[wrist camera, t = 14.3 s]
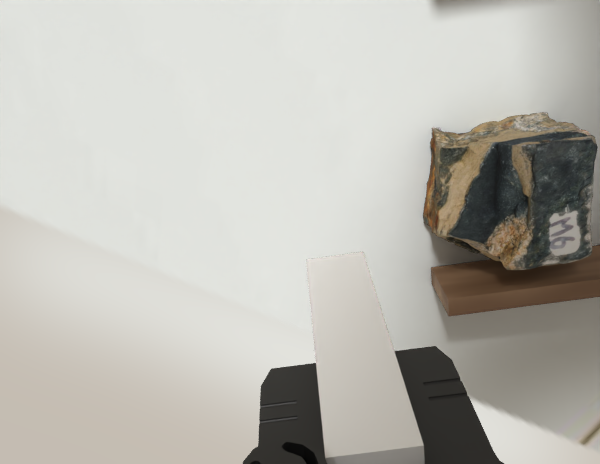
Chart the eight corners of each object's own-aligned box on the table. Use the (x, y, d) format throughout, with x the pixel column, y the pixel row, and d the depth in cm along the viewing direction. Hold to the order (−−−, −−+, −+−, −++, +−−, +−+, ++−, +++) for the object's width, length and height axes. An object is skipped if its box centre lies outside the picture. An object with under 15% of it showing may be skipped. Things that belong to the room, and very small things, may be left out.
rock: (417, 126, 33) (443, 153, 28) (577, 104, 32) (634, 127, 27) (423, 256, 36) (447, 302, 31) (567, 238, 36) (616, 281, 31)
